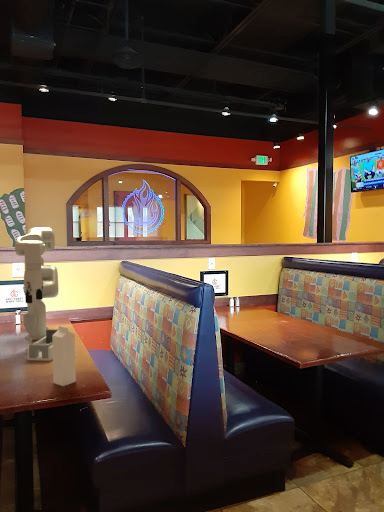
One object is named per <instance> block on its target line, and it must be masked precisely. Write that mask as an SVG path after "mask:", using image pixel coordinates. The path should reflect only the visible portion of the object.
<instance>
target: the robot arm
mask: <svg viewBox="0 0 384 512" xmlns="http://www.w3.org/2000/svg"><path fill="white" fill-rule="evenodd" d="M55 245H56V241H55V232H54V230H53V228H50V227H32V228H29V229H28V231H27V232H26V234H25V235H22V236H19V237H18V238H17V239H16V241H15V244H14V252H15V254H16V255H17V256H19V257H24V273H23V274H24V275H23V287H22V289H23V293H24V296H25V297H24V298H25V304H27V308H26V309H27V313H37V316H36V321H37V324H36V327H35V329H34V331H33V332H32V333H31V335H32V341H35V340H36V341H38V340H40V339H42V338H44V337H45V336H46V330H47V329H49V327H48V326H47V312H46V310H47V309H46V304H45V303H44V301H43V299H47V298H56V297H57V296H58V295H59V274H58V268H57V267H56V266H55V265H52V264H51V265H50V264H49V265H48V264H47V265H46V264H45V260H44V258H43V257H42V256H43V255H44V253H45V252H52V251H54V249H55ZM25 339H26V340H28V341H29V339H30V338H29V333H28V332H27V334H26V335H25Z"/></svg>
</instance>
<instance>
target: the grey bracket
mask: <svg viewBox="0 0 384 512" xmlns="http://www.w3.org/2000/svg"><path fill="white" fill-rule="evenodd" d="M29 344H30V343H29ZM29 344H28V345H29ZM28 345H27V346H28ZM27 346H26V348H27V351H26V360H27V361H48V362H49V361H53V345H51V344H46V336H45V337H44V338H42V339H39V340H36V341H35V342H33V343H32V344H30V345H29V346H28V347H27ZM39 350H42V351H41V352H39Z"/></svg>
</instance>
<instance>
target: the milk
mask: <svg viewBox="0 0 384 512" xmlns="http://www.w3.org/2000/svg"><path fill="white" fill-rule="evenodd" d="M57 330H58V331H57V332H56V333H54V334H53V335H52V341H53V359H52V373H53V374H52V375H53V384H55V385H57V386H61V387H65V386H68V385H70V384H73V383H76V380H77V379H76V377H77V376H76V347H75V345H76V343H75V337H76V336H75V334H74V333H71V332H70V331H69V328H68V327H65V326H62V325H61V326H60V325H58V329H57Z"/></svg>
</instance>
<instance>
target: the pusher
mask: <svg viewBox="0 0 384 512" xmlns="http://www.w3.org/2000/svg"><path fill="white" fill-rule="evenodd" d="M58 330H59V329H49V328H48V329H47V330H46V344H51V345H53V341H52V335H53V334H54V333H56V332H57V331H58ZM41 351H42V350H39V352H41Z"/></svg>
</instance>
